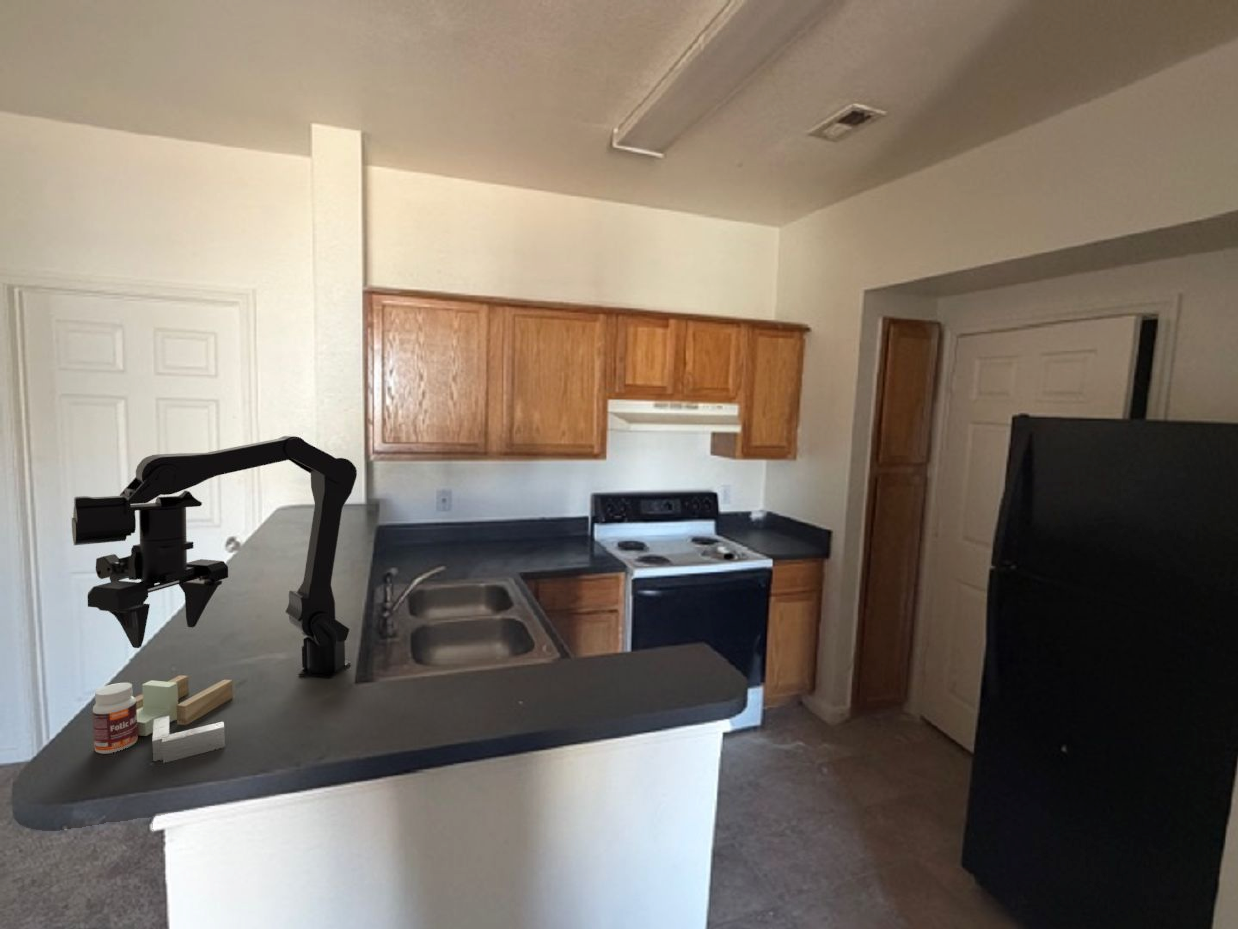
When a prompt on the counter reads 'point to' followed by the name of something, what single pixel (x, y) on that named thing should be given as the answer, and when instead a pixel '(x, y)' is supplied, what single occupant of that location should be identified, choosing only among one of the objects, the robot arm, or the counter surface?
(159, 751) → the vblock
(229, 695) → the channel
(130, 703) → the pill bottle
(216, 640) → the counter surface
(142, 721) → the block
